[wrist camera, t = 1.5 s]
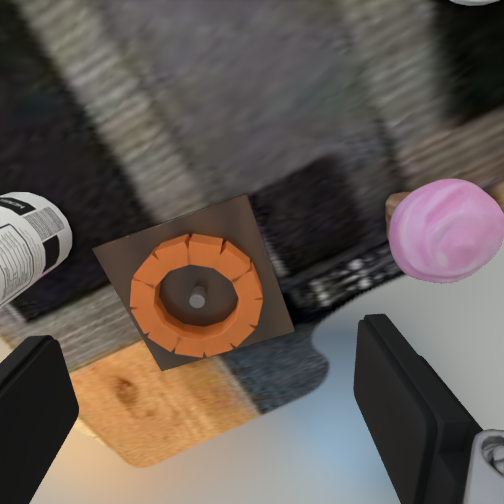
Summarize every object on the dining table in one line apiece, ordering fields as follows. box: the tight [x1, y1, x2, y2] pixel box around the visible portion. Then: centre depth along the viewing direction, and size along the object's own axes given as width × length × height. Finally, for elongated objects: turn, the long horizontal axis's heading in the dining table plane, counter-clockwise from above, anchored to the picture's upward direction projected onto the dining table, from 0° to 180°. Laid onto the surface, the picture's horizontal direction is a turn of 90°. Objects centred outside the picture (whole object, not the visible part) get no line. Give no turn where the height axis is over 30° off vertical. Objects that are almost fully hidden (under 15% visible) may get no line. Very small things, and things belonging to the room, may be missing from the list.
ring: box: [130, 234, 263, 358], centre depth 34 cm, size 13×13×2 cm
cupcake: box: [385, 179, 504, 283], centre depth 29 cm, size 9×9×10 cm
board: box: [92, 193, 295, 371], centre depth 35 cm, size 17×17×3 cm
